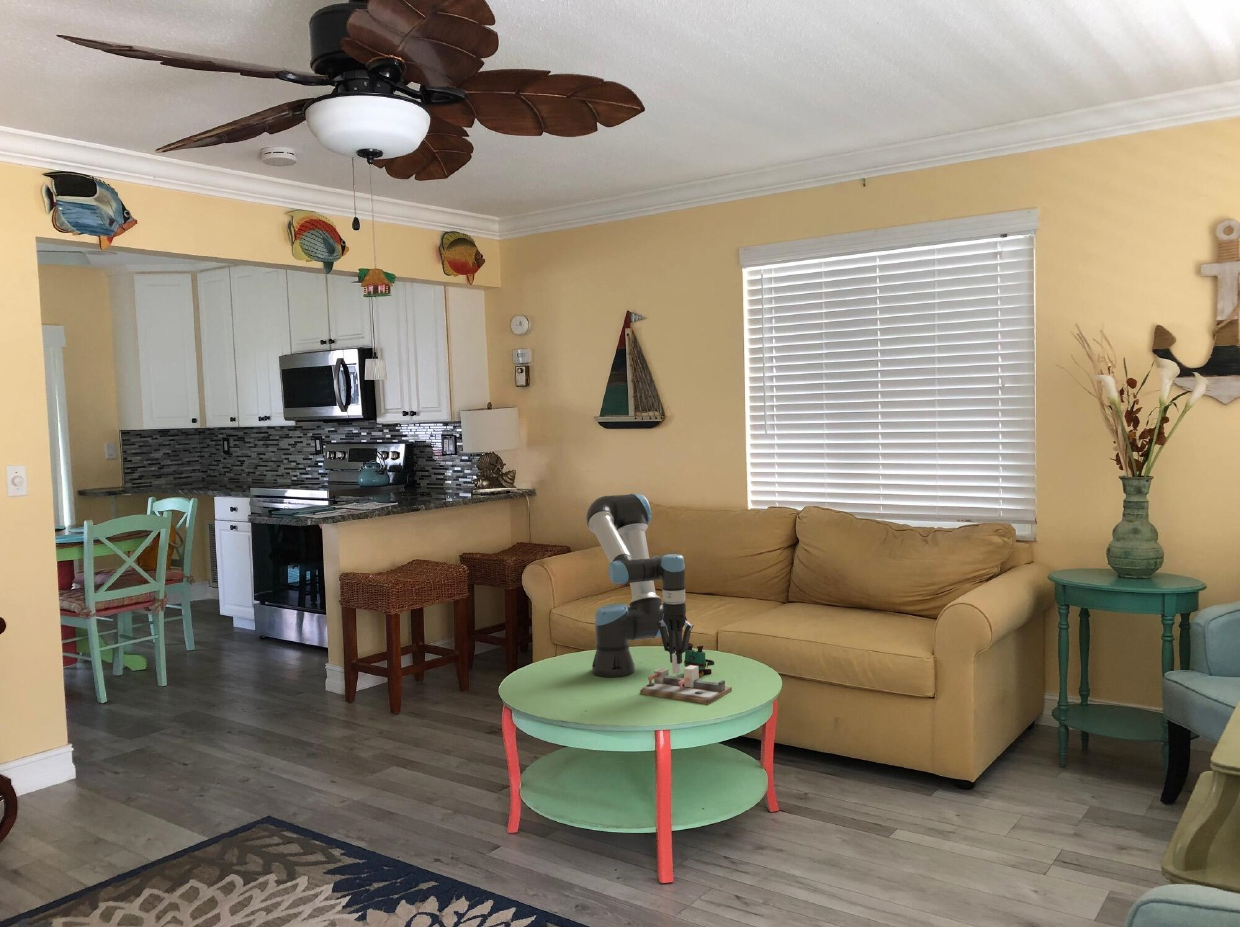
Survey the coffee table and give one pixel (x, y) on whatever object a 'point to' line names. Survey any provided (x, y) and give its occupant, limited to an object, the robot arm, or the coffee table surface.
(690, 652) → the binoculars
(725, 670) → the coffee table surface
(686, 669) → the slider head
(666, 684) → the gauge
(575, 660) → the coffee table surface
